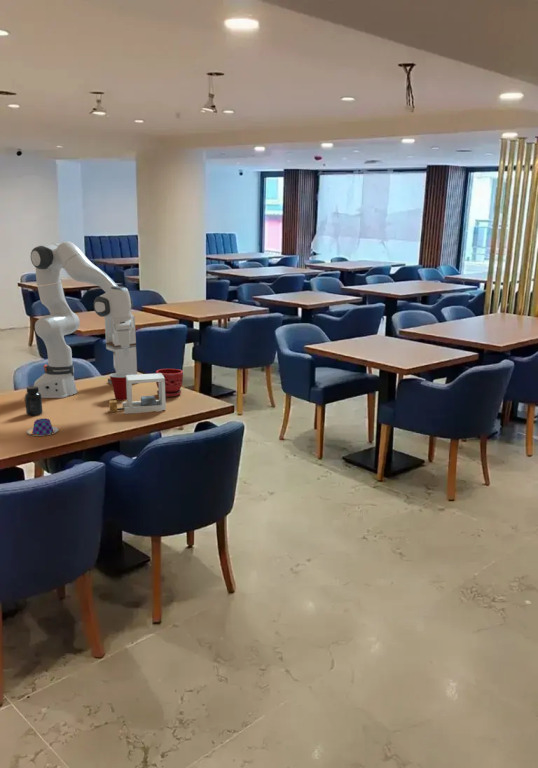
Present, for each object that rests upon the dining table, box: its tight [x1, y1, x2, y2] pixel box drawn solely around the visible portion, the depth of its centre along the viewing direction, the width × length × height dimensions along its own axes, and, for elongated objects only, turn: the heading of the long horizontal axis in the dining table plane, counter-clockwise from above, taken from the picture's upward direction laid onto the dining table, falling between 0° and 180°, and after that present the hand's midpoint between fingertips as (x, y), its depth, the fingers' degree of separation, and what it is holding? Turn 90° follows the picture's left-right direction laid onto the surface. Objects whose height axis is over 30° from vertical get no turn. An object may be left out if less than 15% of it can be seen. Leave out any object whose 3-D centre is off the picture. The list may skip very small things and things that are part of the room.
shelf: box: [122, 372, 167, 415], centre depth 309 cm, size 18×10×15 cm, turn 107°
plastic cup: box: [108, 372, 133, 401], centre depth 327 cm, size 11×11×12 cm
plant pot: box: [155, 368, 184, 398], centre depth 334 cm, size 13×13×12 cm
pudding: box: [26, 418, 59, 437], centre depth 278 cm, size 12×12×5 cm
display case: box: [104, 315, 138, 385], centre depth 352 cm, size 11×11×35 cm
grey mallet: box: [109, 395, 157, 413], centre depth 309 cm, size 20×6×5 cm, turn 107°
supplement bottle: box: [24, 385, 43, 417], centre depth 301 cm, size 7×7×12 cm
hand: (126, 355), depth 302 cm, fingers open, 8 cm apart
